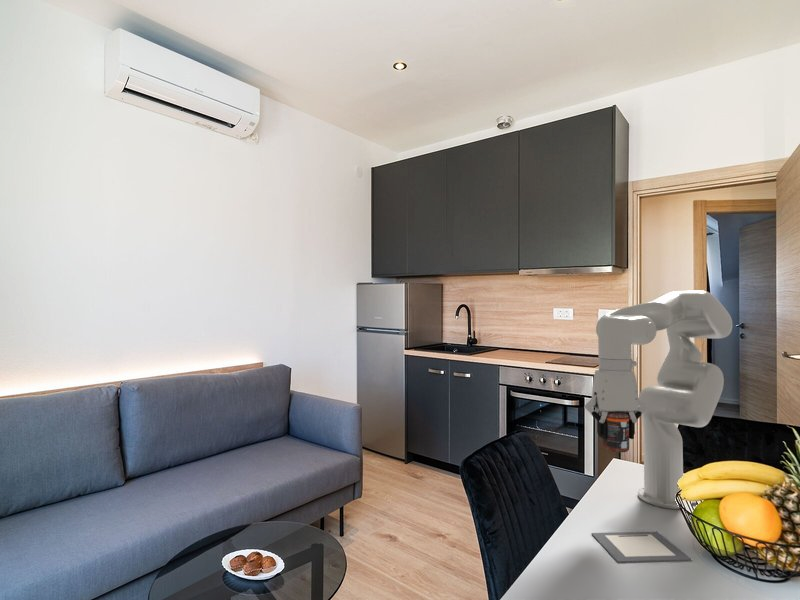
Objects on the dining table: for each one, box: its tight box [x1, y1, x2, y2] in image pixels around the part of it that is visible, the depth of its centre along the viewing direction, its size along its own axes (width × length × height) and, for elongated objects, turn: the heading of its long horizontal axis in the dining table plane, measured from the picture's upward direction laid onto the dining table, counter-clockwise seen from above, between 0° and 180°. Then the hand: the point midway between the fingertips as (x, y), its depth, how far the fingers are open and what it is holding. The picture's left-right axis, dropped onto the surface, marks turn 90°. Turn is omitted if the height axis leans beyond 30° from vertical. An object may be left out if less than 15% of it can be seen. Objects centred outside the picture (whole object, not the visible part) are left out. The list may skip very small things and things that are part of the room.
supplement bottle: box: [602, 411, 630, 453], centre depth 112 cm, size 6×6×11 cm
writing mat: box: [591, 530, 693, 564], centre depth 101 cm, size 16×12×1 cm
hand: (616, 437), depth 112 cm, fingers closed on supplement bottle, 6 cm apart
